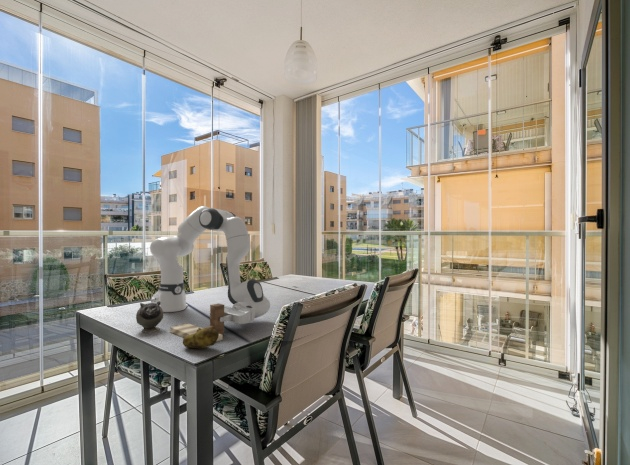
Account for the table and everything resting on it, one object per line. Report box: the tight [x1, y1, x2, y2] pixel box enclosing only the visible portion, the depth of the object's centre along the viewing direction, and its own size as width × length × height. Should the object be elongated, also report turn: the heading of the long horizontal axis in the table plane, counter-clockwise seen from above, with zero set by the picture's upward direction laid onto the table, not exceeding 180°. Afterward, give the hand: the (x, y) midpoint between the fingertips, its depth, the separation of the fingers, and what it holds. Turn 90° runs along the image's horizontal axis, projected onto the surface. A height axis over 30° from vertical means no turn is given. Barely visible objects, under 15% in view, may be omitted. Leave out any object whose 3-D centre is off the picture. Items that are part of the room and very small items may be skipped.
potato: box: [182, 327, 219, 350], centre depth 117 cm, size 8×13×8 cm, turn 60°
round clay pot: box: [135, 301, 164, 333], centre depth 136 cm, size 10×12×10 cm
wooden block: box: [197, 303, 225, 335], centre depth 130 cm, size 4×11×12 cm, turn 145°
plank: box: [169, 322, 224, 343], centre depth 131 cm, size 24×8×2 cm, turn 55°
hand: (215, 318), depth 132 cm, fingers closed on wooden block, 4 cm apart
